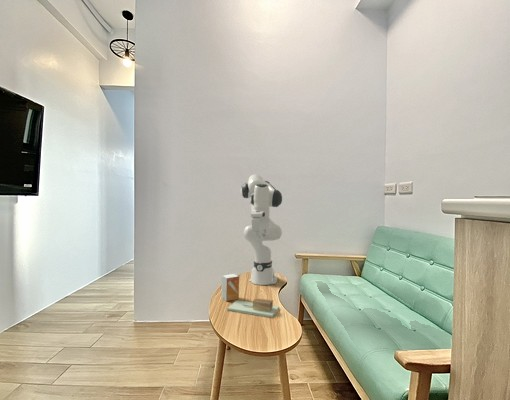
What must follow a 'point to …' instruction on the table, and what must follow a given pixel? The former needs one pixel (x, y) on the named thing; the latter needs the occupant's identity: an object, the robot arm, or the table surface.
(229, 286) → the small box
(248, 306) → the board
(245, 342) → the table surface
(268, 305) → the block
